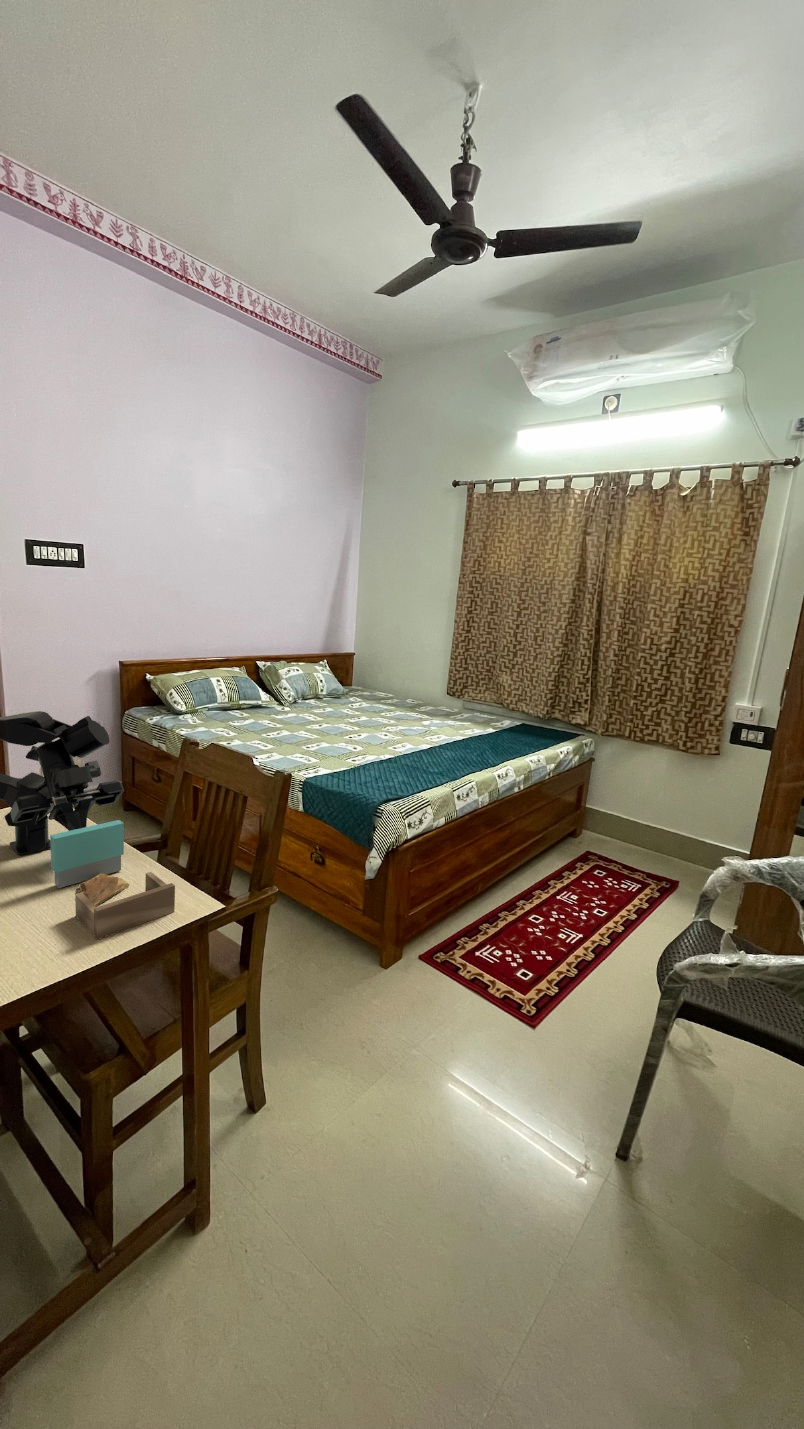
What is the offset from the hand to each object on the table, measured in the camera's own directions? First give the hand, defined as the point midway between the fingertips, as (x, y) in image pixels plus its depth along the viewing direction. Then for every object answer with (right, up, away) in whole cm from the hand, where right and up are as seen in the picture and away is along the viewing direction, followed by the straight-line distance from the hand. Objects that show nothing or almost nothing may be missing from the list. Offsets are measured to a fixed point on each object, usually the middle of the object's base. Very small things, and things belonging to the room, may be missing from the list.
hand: (82, 839), depth 108 cm
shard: (+7, -9, -5) cm, 13 cm away
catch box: (+14, -10, -11) cm, 20 cm away
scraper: (+2, -7, -1) cm, 7 cm away
